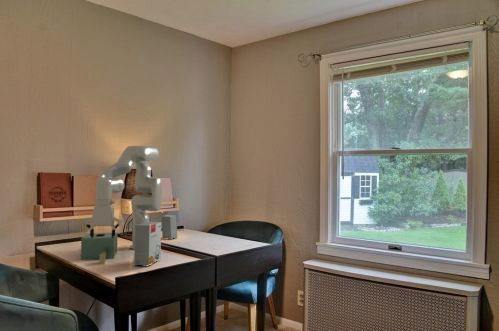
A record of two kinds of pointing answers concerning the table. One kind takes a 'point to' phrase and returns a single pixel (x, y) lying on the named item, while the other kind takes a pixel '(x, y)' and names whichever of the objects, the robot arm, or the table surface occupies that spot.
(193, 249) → the table surface
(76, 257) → the table surface
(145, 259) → the hard drive box
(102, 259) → the token
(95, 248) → the coin box
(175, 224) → the skincare box
